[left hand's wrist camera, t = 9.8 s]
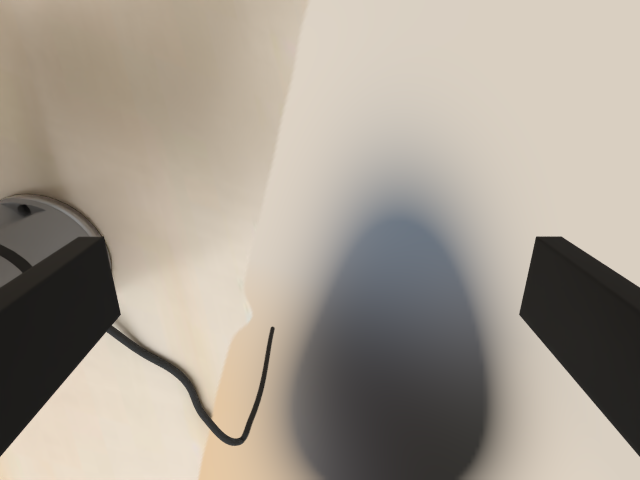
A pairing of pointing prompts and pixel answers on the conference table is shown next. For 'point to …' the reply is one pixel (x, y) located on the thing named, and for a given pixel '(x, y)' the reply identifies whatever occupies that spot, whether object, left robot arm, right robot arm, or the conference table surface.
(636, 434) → the left robot arm
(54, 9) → the conference table surface
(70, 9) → the conference table surface
